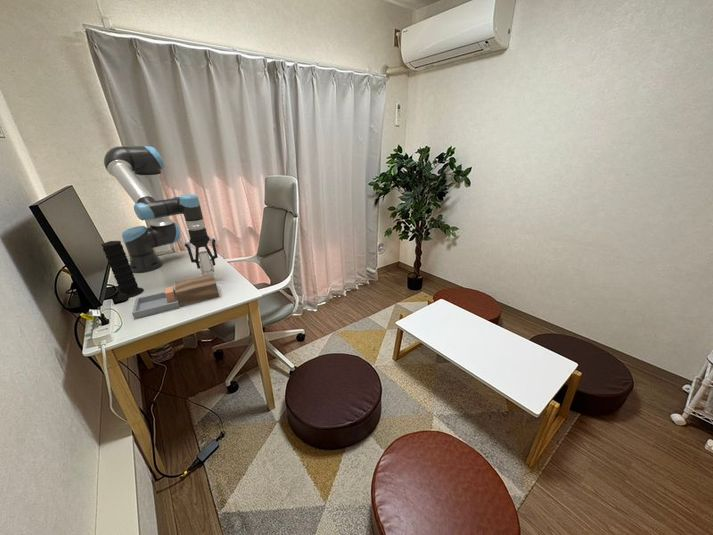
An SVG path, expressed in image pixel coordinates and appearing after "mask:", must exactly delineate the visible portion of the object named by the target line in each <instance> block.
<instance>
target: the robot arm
mask: <svg viewBox="0 0 713 535" xmlns="http://www.w3.org/2000/svg"><path fill="white" fill-rule="evenodd" d="M103 165H104V167H105V170H106V171H107V172H108V174H110V175H111V176H112V177H114V178H115V179H116V180H117V181H118V183H119V184H120V185H121V187H122V188H123V190H124V191H125V193H126V194H127V195H128V196H129V197H130V199H131V200H132V201H133V203H134V204H133V210H134V213H135V215H136V217H137V218H138V219H139V220H141V221H150V220H151V221H150V222H149V223H148V224H149V227H146V226H145V225H139V226H138V225H137V226H134V227H131V228H127V229H125V230H123V231H122V233H121V237H122V242H123V243H124V245H125V249H126V251H127V253H128V256H129V265H130V266H131V269H132V272H133V274H134V273H135V274H138V273H140V274H141V273H147V272H151V271H155V270H157V269H159V268H161V267H162V266H163V261H162V260H161V258H160V257H159V256H158V255H157V253H156V252H155V250H154V249H155V248H157V247H159V248H160V247H162V246H166V245H170V244H175V243H177V242H179V240H180V239H181V229H180V228H179V225H178V224H177V223H176V222H174V220H173V219H171V218H170V217H172V216H178V215H183V217H184V220H185V224H186V227H187V228H186V229H187V232H188V236H189V241H187V242H184V247H185V248H186V249H187V252H188V255H189V259H190V262H191V263H193V264H194V263H195V265H196V267H197V270H198V269H199V270H200V272H201V275H202V276H204V273H203V269H202V266H201V262H200V258H199V252H200V250H199V249H200V248H205V251H207V252H208V254H209V258H210V262H211V266H212V270H213V274H214V273H215V272H216V271H215V267H214V266H216V262H215V261H216V259H218V253H217V252H218V251H217V248H216V238H215V237H213V238H211V237H209V236H208V232H207V228H206V223H205V218H204V216H203V211H202V207H201V203H200V200H199V196H198V195H196V194H184V195H180V196H173V197H171V198H167V199H165V195H164V191H163V188H162V184H161V180H160V176H161V175H162V170H164V168H165V164H164V160H163V158H162V156H161V154H160V153H159V151H158V150H157V149H156V148H155V147H154V146H146V145H136V146H135V145H132V146H131V145H130V146H114V147H112V148H111V149H109V150H108V151H107V152H106V153H105V155H104V158H103ZM209 242H210V243H211V246H212V251H213V254H212V252H211V249H210V248H209V246H208V244H209ZM191 244H192V245H193V246H194V247H195V248H194V249H195V255H194V254H193V252H192V248H191ZM194 256H195V258H194Z"/></svg>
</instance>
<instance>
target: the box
mask: <svg viewBox="0 0 713 535" xmlns="http://www.w3.org/2000/svg"><path fill="white" fill-rule="evenodd" d="M180 308H181V307H180V306H179V303H178V300H177V301H176V302H172V303H168V301H167V299H166V296H165V291H162V292H158V293H153V294H149V295H148V294H147V295H145V296H140V297H136V298H135V301H134V305H133V308H132V310H131V314H132V317H133V319H134V320H137V319H142V318H146V317H149V316H153V315H154V316H155V315H156V314H161V313H165V312H169V311H170V312H171V311H173V310H177V309H180Z"/></svg>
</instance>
